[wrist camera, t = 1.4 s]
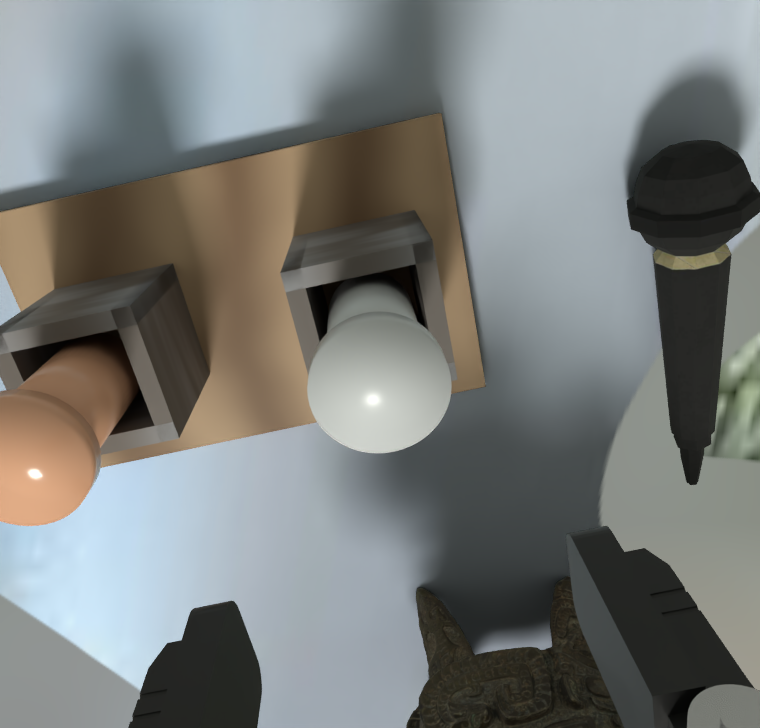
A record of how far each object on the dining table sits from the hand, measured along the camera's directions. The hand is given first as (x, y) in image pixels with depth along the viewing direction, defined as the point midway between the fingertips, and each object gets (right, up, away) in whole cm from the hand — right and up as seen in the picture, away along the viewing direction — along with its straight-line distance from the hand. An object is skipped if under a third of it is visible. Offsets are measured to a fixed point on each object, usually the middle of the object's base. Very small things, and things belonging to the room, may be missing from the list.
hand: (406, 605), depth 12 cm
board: (-7, +8, +22) cm, 24 cm away
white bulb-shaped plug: (-1, +7, +16) cm, 18 cm away
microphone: (+15, +7, +24) cm, 29 cm away
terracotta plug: (-13, +4, +17) cm, 21 cm away
